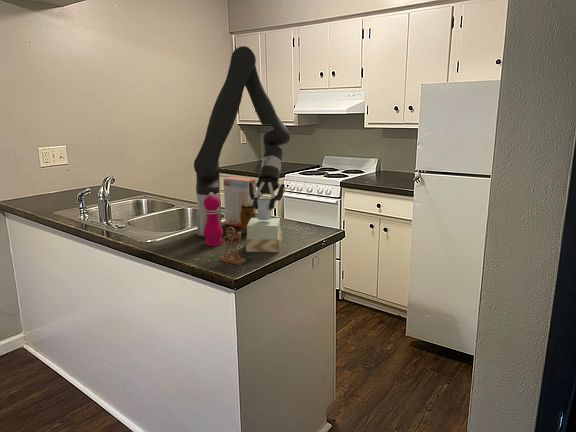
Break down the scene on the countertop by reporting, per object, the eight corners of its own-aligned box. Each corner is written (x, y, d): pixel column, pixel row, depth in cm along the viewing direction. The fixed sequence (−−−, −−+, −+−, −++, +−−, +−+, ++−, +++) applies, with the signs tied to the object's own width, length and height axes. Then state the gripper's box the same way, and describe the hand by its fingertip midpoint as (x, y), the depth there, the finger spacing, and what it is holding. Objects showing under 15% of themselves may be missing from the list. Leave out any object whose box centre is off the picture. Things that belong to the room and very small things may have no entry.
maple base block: (246, 252, 157) (245, 239, 156) (251, 242, 169) (250, 230, 168) (279, 253, 157) (279, 239, 155) (281, 242, 168) (281, 230, 167)
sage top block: (247, 239, 156) (246, 225, 155) (251, 230, 167) (251, 218, 166) (277, 239, 156) (277, 225, 155) (280, 230, 166) (279, 218, 165)
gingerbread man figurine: (218, 260, 149) (216, 226, 146) (226, 256, 152) (224, 223, 149) (239, 265, 144) (237, 230, 141) (246, 261, 148) (245, 227, 145)
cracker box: (257, 226, 190) (256, 178, 185) (248, 229, 186) (246, 180, 180) (234, 221, 198) (232, 175, 193) (224, 224, 194) (222, 177, 188)
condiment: (252, 230, 184) (251, 202, 182) (261, 235, 177) (260, 206, 174) (236, 232, 181) (235, 204, 178) (245, 237, 174) (244, 208, 171)
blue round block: (257, 220, 157) (256, 201, 156) (258, 216, 162) (257, 198, 161) (270, 220, 157) (270, 201, 156) (271, 216, 162) (271, 198, 160)
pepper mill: (214, 239, 172) (212, 189, 167) (227, 243, 167) (225, 191, 162) (200, 244, 166) (197, 192, 162) (213, 247, 162) (210, 195, 157)
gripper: (249, 164, 164) (241, 202, 155) (287, 164, 161) (280, 203, 152) (254, 176, 170) (246, 213, 162) (290, 176, 167) (284, 214, 159)
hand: (263, 208), depth 157 cm, fingers closed on blue round block, 5 cm apart
